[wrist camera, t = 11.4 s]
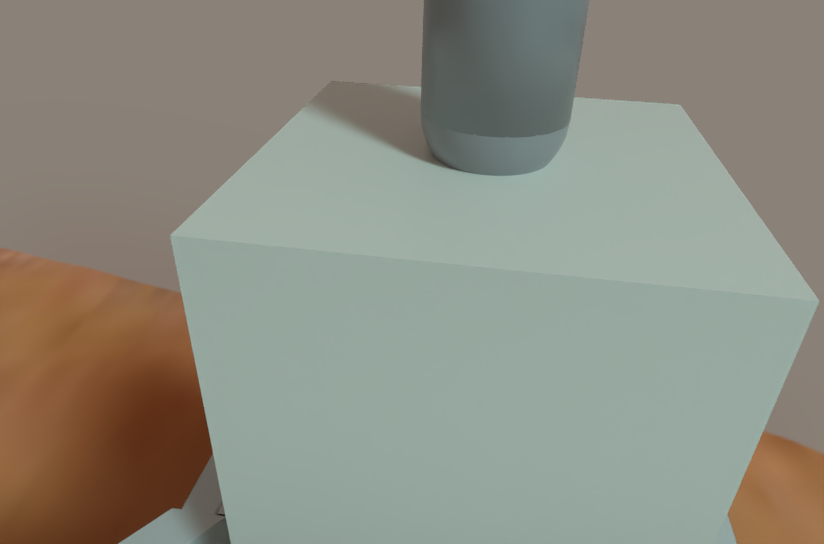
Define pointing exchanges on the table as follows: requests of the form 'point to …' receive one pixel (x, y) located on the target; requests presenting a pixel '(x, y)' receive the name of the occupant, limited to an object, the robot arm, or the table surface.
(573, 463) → the plug
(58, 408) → the table surface
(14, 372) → the table surface
